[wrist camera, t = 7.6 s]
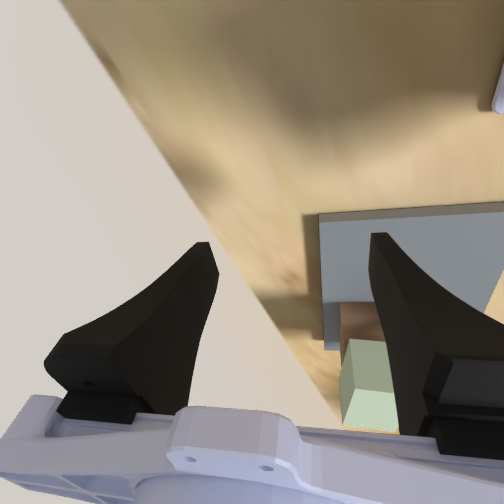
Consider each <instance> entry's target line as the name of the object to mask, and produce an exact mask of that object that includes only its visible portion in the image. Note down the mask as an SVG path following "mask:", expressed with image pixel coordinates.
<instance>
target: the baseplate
mask: <svg viewBox="0 0 504 504" xmlns="http://www.w3.org/2000/svg"><path fill="white" fill-rule="evenodd" d="M319 231H320V255H321V278H322V302H323V326H324V350H337V351H340V343H339V336H340V302H374V298H373V295H372V291H371V286H370V279H369V272H368V264H369V252H370V239H371V233H378V232H387V233H388V234H389V235H390V236H391V237H392V238H393V239H394V241H395V242H396V243H397V244H398V245H399V246H400V247H401V249H402V250H403V251H404V252H405V253H406V254H407V255H408V256H409V257H410V258H411V259H412V260H413V261H414V262H415V263H416V264H417V265H418V266H419V267H420V268H421V269H422V270H423V271H424V272H426V273H427V274H428V275H429V276H430V277H431V278H432V279H434V280H435V281H436V282H437V283H438V284H440V285H441V286H442V287H444V288H445V289H446V290H448V291H449V292H450V293H452V294H453V295H455V296H456V297H458V298H459V299H461V300H462V301H464V302H465V303H467V304H469V305H470V306H472V307H473V308H475V309H477V310H478V311H480V312H482V313H484V311H485V309H486V307H487V304H488V302H489V300H490V298H491V296H492V293H493V291H494V289H495V287H496V285H497V282H498V280H499V278H500V276H501V274H502V271H503V269H504V202H493V203H478V204H463V205H448V206H433V207H417V208H402V209H387V210H372V211H357V212H341V213H326V214H319Z"/></svg>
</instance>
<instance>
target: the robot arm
mask: <svg viewBox="0 0 504 504" xmlns="http://www.w3.org/2000/svg"><path fill="white" fill-rule="evenodd" d="M491 108H492V110H493V111H494V112H496V113H498V114H504V64H503V67H502V70H501V74H500V77H499V81H498V84H497V88H496V91H495V94H494V98H493V101H492V106H491ZM368 272H369V279H370V286H371V291H372V295H373V298H374V302H375V305H376V309H377V312H378V316H379V319H380V323H381V326H382V330H383V333H384V337H385V342H386V346H387V352H388V358H389V364H390V370H391V376H392V383H393V389H394V396H395V403H396V410H397V417H398V425H399V432H400V435H395V434H383V433H372V432H360V431H348V430H336V429H324V428H312V427H301V426H295V425H294V423H293V422H292V421H291V420H290V419H288V418H286V417H284V416H282V415H280V414H277V413H272V412H267V411H258V410H245V409H232V408H219V407H206V406H188V400H189V394H190V388H191V382H192V376H193V371H194V366H195V361H196V356H197V351H198V346H199V342H200V338H201V335H202V332H203V329H204V326H205V323H206V320H207V317H208V314H209V311H210V308H211V305H212V303H213V300H214V296H215V293H216V289H217V284H218V278H219V272H218V268H217V266H216V262H215V259H214V256H213V253H212V250H211V247H210V244H209V242H197V243H196V244H194V245H193V247H191V248H190V249H189V250H188V251H187V252H186V253H185V254H184V255H183V256H182V257H181V258H180V259H179V260H178V261H176V262H175V263H174V264H173V265H172V266H171V267H170V268H169V269H168V270H167V271H166V272H165V273H163V274H162V275H161V276H160V277H159V278H158V279H157V280H155V281H154V282H153V283H152V284H151V285H149V286H148V287H147V288H145V289H144V290H143V291H141V292H140V293H139V294H137V295H136V296H134V297H133V298H132V299H130V300H128V301H127V302H125V303H124V304H122V305H120V306H119V307H117V308H116V309H114V310H112V311H110V312H109V313H107V314H105V315H103V316H101V317H99V318H97V319H96V320H94V321H92V322H90V323H88V324H85V325H83V326H81V327H79V328H77V329H74V330H72V331H70V332H68V333H65V334H64V335H63V336H62V337H61V338H60V340H59V341H58V343H57V344H56V345H55V347H54V348H53V349H52V351H51V352H50V353H49V355H48V356H47V357H46V359H45V360H44V367H45V369H46V371H47V372H48V374H49V375H50V376H51V377H52V378H54V379H55V380H56V381H57V382H58V383H59V384H60V385H61V386H63V387H64V388H65V389H66V390H67V391H68V392H67V394H66V396H65V397H64V399H62V398H59V397H55V396H46V395H32V396H31V397H30V398H29V400H28V401H27V403H26V404H25V405H24V407H23V408H22V409H21V411H20V412H19V414H18V415H17V417H16V418H15V419H14V421H13V422H12V424H11V425H10V426H9V428H8V429H7V431H6V432H5V434H4V435H3V436H2V438H1V439H0V477H2V478H4V479H6V480H8V481H10V482H13V483H14V484H17V485H19V486H21V487H23V488H25V489H27V490H32V491H37V492H43V493H49V494H54V495H59V496H64V497H69V498H73V499H77V500H82V501H86V502H91V503H95V504H504V324H502V323H500V322H498V321H496V320H494V319H492V318H491V317H489V316H487V315H485V314H483V313H482V312H480V311H478V310H477V309H475V308H473V307H472V306H470V305H469V304H467V303H465V302H464V301H462V300H461V299H459V298H458V297H456V296H455V295H453V294H452V293H450V292H449V291H448V290H446V289H445V288H444V287H442V286H441V285H440V284H438V283H437V282H436V281H435V280H434V279H432V278H431V277H430V276H429V275H428V274H427V273H426V272H424V271H423V270H422V269H421V268H420V267H419V266H418V265H417V264H416V263H415V262H414V261H413V260H412V259H411V258H410V257H409V256H408V255H407V254H406V253H405V252H404V251H403V250H402V249H401V247H400V246H399V245H398V244H397V243H396V242H395V241H394V239H393V238H392V237H391V236H390V235H389V234H388V233H387V232H378V233H371V239H370V252H369V264H368Z"/></svg>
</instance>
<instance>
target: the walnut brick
mask: <svg viewBox="0 0 504 504" xmlns="http://www.w3.org/2000/svg"><path fill="white" fill-rule="evenodd" d="M349 339H359V340H370V341H380V342H385V337H384V333H383V330H382V326H381V323H380V319H379V316H378V312H377V309H376V305H375V302H340V336H339V343H340V355H341V366H342V364H343V361H344V357H345V353H346V349H347V346H348V342H349Z"/></svg>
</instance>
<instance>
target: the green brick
mask: <svg viewBox="0 0 504 504" xmlns="http://www.w3.org/2000/svg"><path fill="white" fill-rule="evenodd" d="M339 386H340V400H341V413H342V425H344V426H352V427H359V428H366V429H374V430H381V431H388V432H396V430H397V429H398V427H399V425H398V417H397V410H396V403H395V396H394V389H393V383H392V376H391V370H390V364H389V358H388V352H387V346H386V342H380V341H370V340H359V339H349V342H348V346H347V349H346V353H345V357H344V361H343V364H342V368H341V372H340V376H339Z"/></svg>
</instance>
